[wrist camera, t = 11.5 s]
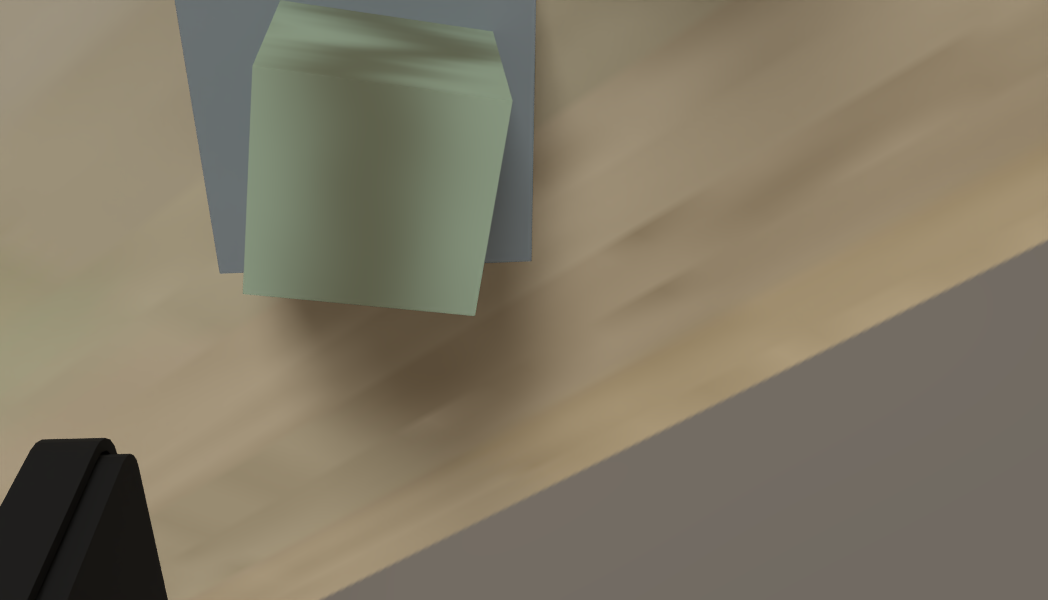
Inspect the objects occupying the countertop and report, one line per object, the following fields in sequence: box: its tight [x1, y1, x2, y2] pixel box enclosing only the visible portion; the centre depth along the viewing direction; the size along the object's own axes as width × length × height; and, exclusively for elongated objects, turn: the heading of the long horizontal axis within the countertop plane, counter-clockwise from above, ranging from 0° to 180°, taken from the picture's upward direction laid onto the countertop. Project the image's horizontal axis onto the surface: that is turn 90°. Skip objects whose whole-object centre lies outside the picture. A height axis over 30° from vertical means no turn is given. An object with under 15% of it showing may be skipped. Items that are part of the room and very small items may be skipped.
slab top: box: [175, 0, 536, 273], centre depth 31 cm, size 10×10×4 cm
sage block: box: [243, 0, 513, 316], centre depth 27 cm, size 6×6×6 cm
